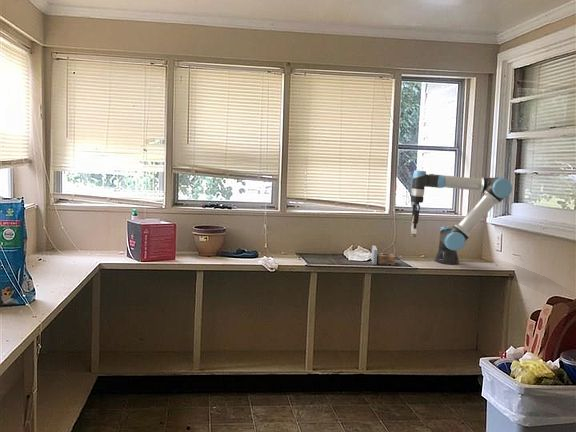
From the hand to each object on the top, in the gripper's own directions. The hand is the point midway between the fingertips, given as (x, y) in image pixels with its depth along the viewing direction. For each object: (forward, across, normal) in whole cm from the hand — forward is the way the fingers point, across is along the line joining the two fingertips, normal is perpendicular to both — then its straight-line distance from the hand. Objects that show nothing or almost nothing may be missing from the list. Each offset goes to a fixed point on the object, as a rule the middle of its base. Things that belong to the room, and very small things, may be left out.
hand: (413, 233), depth 376 cm
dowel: (+2, 0, 0) cm, 2 cm away
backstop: (+19, +8, -24) cm, 31 cm away
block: (+19, +8, -16) cm, 26 cm away
